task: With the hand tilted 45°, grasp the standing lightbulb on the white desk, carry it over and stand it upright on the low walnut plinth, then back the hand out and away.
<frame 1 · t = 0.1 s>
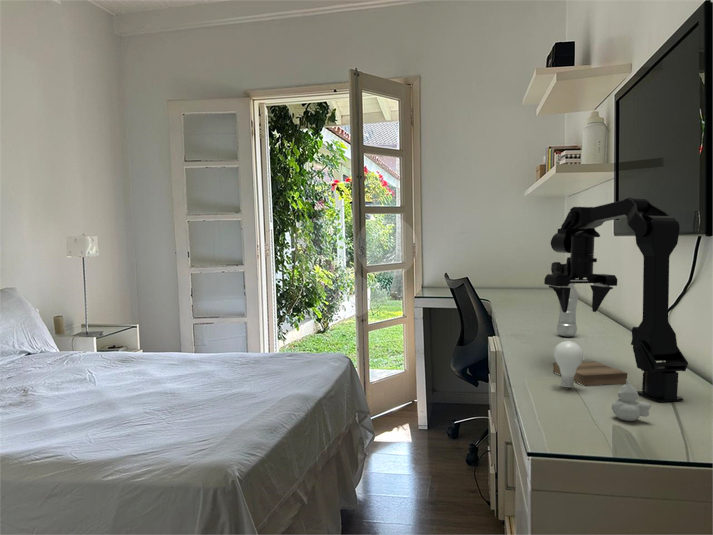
hand: (579, 312, 143), 15 cm above the table, tool pointing down, fingers open, 9 cm apart
walnut plinth: (588, 377, 132), on the table
lightbulb: (567, 389, 123), on the table
plastic bottle: (566, 337, 186), on the table
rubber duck: (630, 421, 102), on the table
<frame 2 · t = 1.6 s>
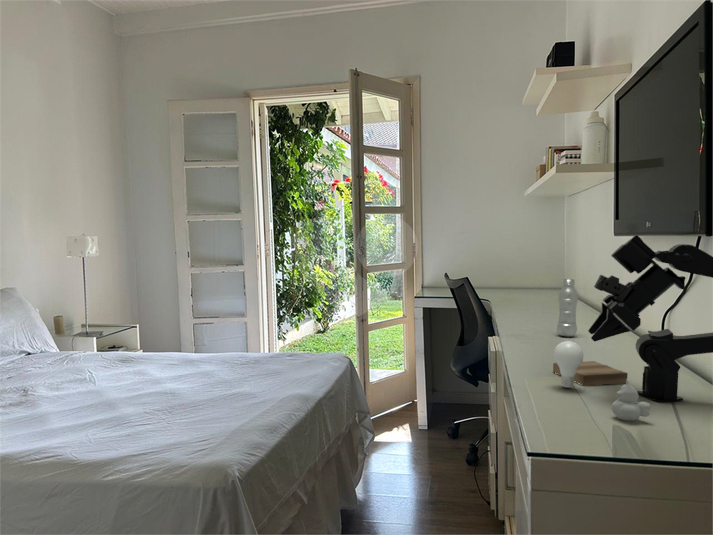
hand: (591, 336, 121), 12 cm above the table, tool tilted 45°, fingers open, 9 cm apart
nothing on the table moved.
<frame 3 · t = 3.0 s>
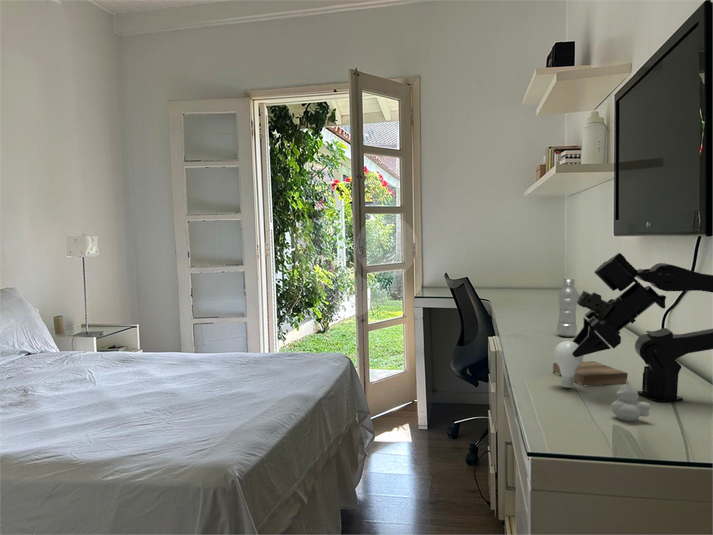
hand: (572, 351, 122), 9 cm above the table, tool tilted 45°, fingers open, 9 cm apart
nothing on the table moved.
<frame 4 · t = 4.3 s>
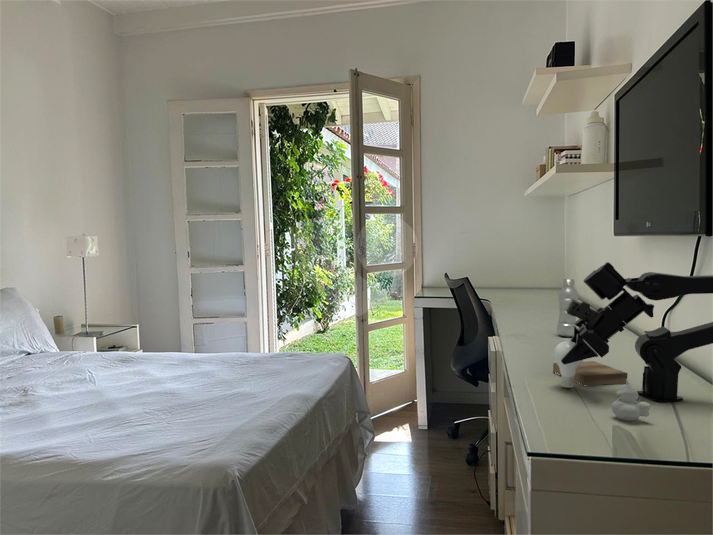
hand: (561, 359, 123), 7 cm above the table, tool tilted 45°, fingers closed on lightbulb, 6 cm apart
lightbulb: (567, 389, 123), on the table, touching gripper
everything else where it was.
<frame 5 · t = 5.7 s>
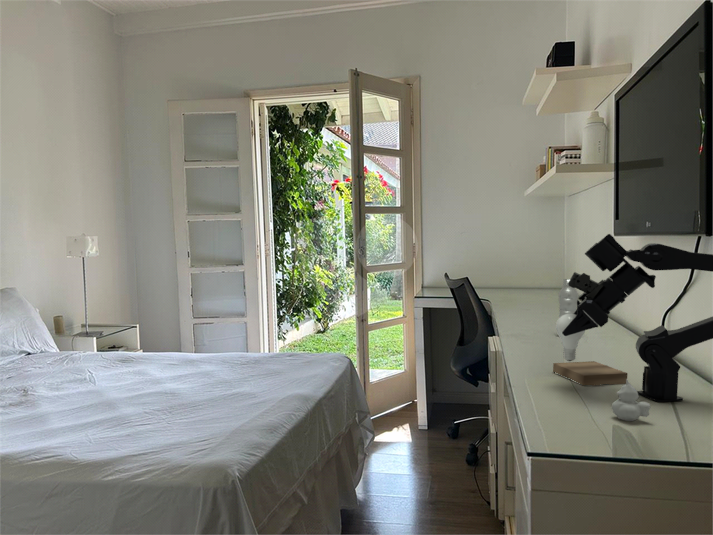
hand: (563, 332, 123), 13 cm above the table, tool tilted 45°, fingers closed on lightbulb, 6 cm apart
lightbulb: (569, 361, 123), point 6 cm above the table, touching gripper
everything else where it was.
when the fingers open (10 cm above the table, at t = 7.6 s): lightbulb drops 1 cm, resting on walnut plinth.
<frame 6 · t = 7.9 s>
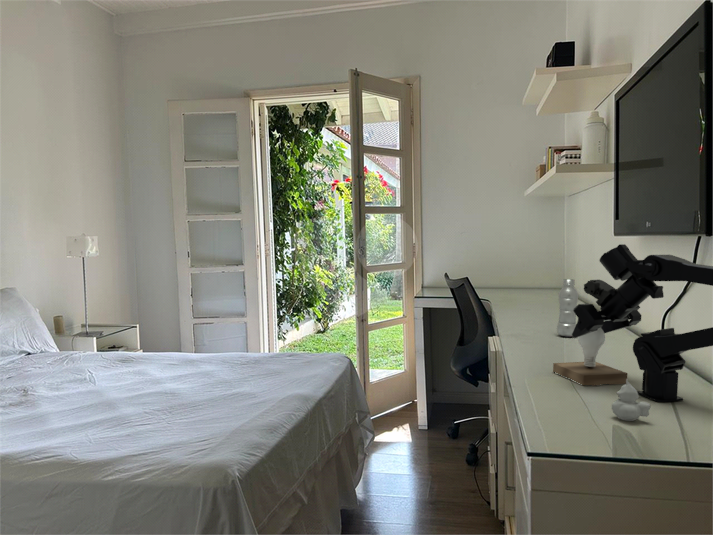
hand: (585, 334, 132), 11 cm above the table, tool tilted 45°, fingers open, 9 cm apart
lightbulb: (589, 368, 132), point 2 cm above the table, touching walnut plinth
everything else where it was.
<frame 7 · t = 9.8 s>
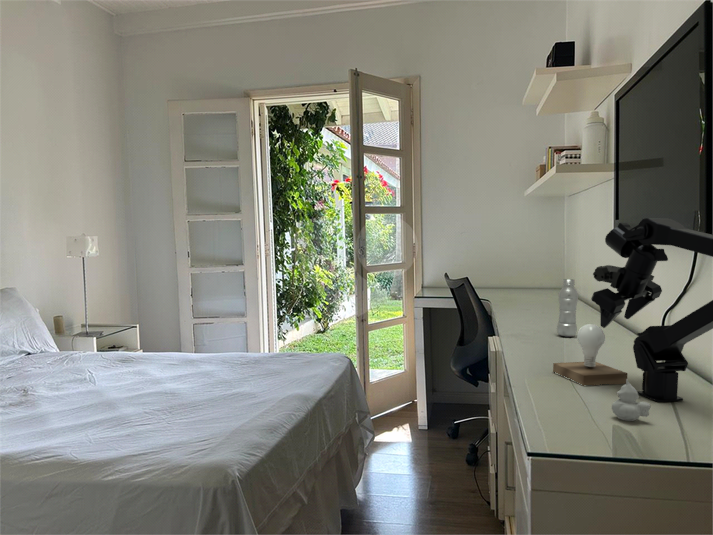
hand: (614, 322, 130), 14 cm above the table, tool tilted 30°, fingers open, 9 cm apart
nothing on the table moved.
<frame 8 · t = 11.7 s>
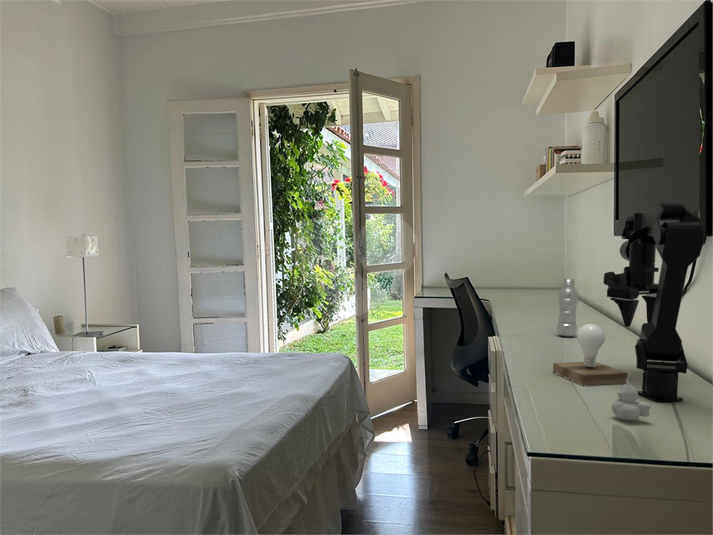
hand: (638, 325, 133), 13 cm above the table, tool pointing down, fingers open, 9 cm apart
nothing on the table moved.
at the end: lightbulb inside the target area on the walnut plinth (0.1 cm from its centre), point 2.3 cm above the walnut plinth's base; lightbulb tilted 0°; the gripper is holding nothing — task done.
